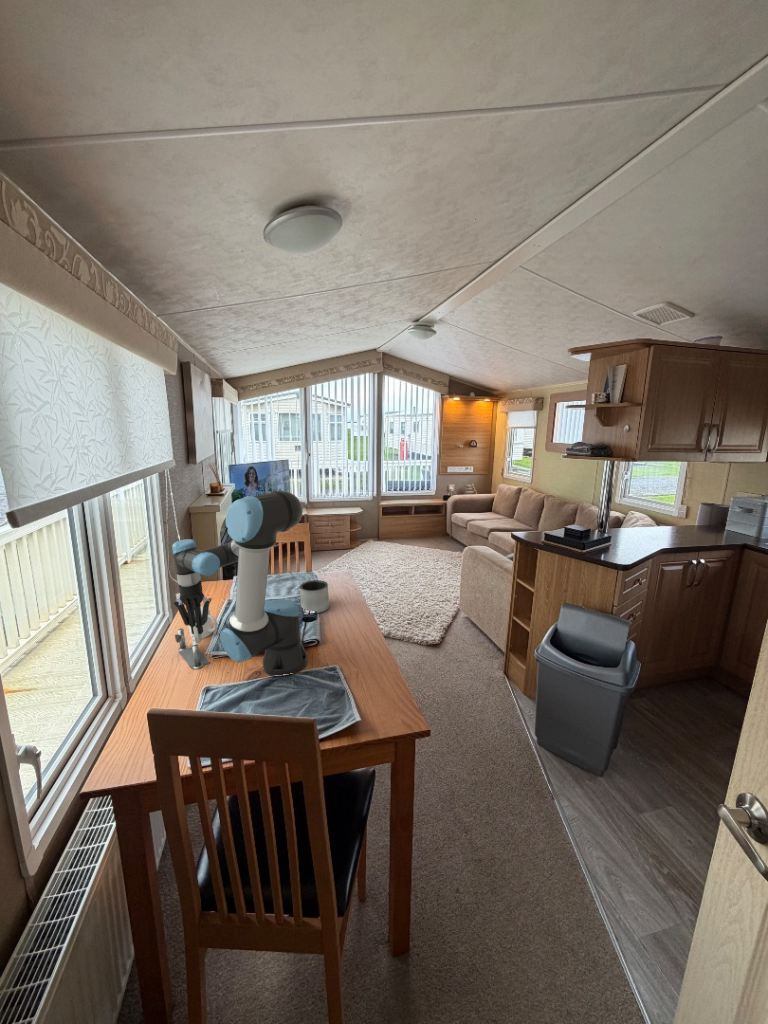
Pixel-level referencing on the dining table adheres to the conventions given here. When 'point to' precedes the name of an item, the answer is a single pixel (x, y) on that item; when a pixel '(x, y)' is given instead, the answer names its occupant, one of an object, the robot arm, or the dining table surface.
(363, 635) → the dining table surface
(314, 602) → the planter
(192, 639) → the gate
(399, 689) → the dining table surface
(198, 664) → the gateposts
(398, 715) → the dining table surface
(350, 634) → the dining table surface
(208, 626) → the mug
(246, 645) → the robot arm
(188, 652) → the grey flat plate
